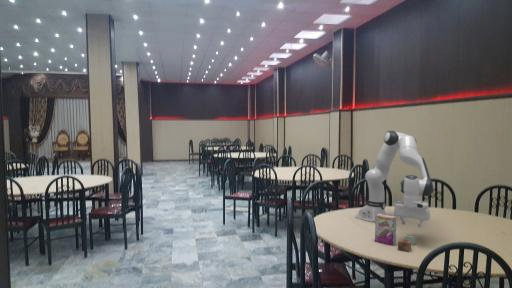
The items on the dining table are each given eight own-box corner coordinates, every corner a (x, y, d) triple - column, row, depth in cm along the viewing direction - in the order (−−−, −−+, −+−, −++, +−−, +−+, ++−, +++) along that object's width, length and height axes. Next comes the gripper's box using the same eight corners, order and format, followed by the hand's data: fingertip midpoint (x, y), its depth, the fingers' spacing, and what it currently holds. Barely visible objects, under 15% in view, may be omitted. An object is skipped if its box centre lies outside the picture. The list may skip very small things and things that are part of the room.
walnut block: (397, 250, 197) (397, 241, 197) (400, 246, 202) (400, 238, 202) (409, 252, 193) (409, 243, 193) (411, 248, 198) (411, 240, 198)
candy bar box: (374, 241, 211) (375, 215, 211) (378, 239, 215) (378, 213, 214) (393, 245, 204) (393, 218, 203) (396, 243, 208) (396, 216, 207)
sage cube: (404, 243, 208) (404, 235, 208) (407, 241, 211) (407, 234, 211) (412, 245, 205) (412, 237, 205) (414, 243, 208) (415, 235, 208)
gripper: (392, 201, 212) (392, 223, 212) (427, 206, 198) (427, 229, 198) (396, 199, 216) (396, 221, 217) (431, 204, 202) (431, 227, 203)
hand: (411, 225), depth 207 cm, fingers open, 8 cm apart
